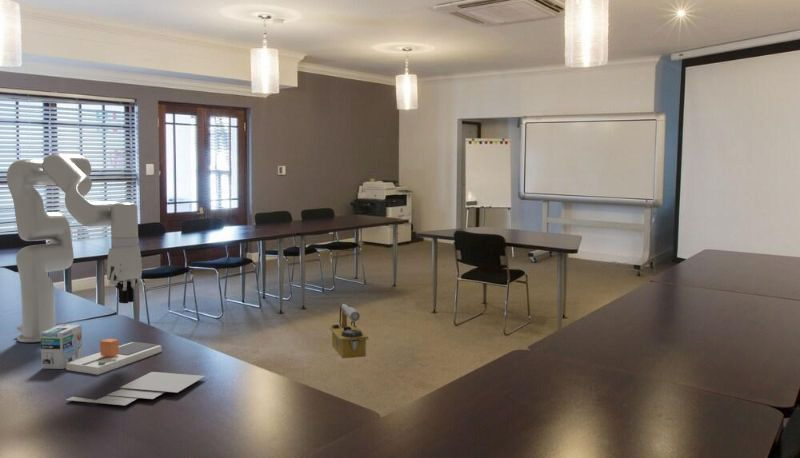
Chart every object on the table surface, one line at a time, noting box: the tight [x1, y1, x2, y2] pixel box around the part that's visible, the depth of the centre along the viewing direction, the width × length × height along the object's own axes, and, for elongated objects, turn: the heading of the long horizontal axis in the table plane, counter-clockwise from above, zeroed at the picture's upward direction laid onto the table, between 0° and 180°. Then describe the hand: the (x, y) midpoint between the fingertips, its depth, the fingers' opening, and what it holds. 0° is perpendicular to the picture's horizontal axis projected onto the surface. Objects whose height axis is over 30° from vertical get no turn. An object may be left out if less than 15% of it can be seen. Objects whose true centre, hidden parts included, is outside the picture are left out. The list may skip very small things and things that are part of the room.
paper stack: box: [65, 371, 206, 406], centre depth 160 cm, size 23×25×1 cm
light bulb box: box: [40, 324, 83, 370], centre depth 180 cm, size 11×7×11 cm, turn 179°
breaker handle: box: [99, 338, 120, 357], centre depth 182 cm, size 4×3×4 cm
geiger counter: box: [329, 303, 370, 359], centre depth 199 cm, size 9×26×15 cm, turn 18°
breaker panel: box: [65, 341, 163, 376], centre depth 184 cm, size 12×25×3 cm, turn 160°
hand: (126, 302), depth 187 cm, fingers closed
